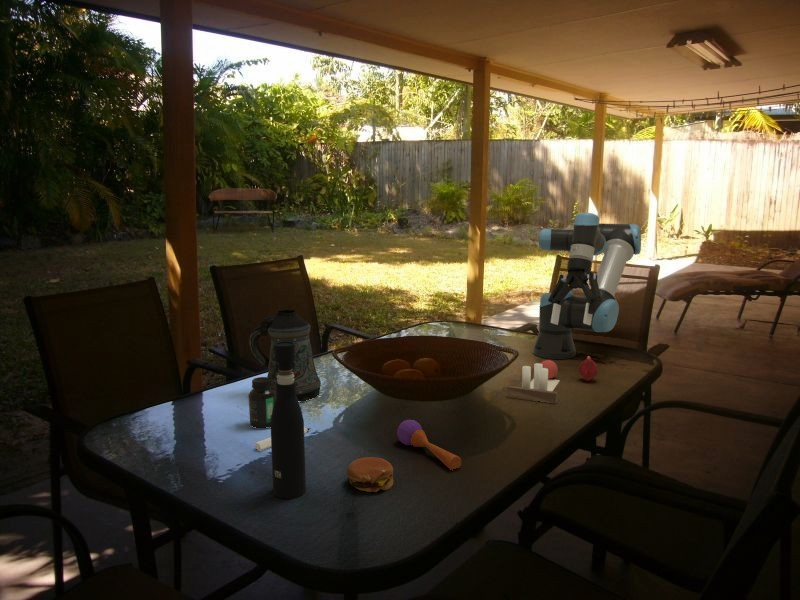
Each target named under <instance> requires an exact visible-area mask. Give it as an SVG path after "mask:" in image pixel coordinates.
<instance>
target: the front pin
mask: <svg viewBox="0 0 800 600" xmlns="http://www.w3.org/2000/svg"><path fill="white" fill-rule="evenodd" d="M533 365H534V366H533V368H534V369H533V378H534V388H533V389H538V390H539V374H540V368H543V364H541V362H540V363H534V364H533Z"/></svg>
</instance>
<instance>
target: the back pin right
mask: <svg viewBox="0 0 800 600" xmlns="http://www.w3.org/2000/svg"><path fill="white" fill-rule="evenodd" d="M521 368H522V371H521V373H522V374H521V387H522V388H530V382H531V380H532V379H531V377H532V376H531V372H532V367H531V366H530V365H523V366H522V367H521Z"/></svg>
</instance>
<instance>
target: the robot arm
mask: <svg viewBox="0 0 800 600" xmlns="http://www.w3.org/2000/svg"><path fill="white" fill-rule="evenodd" d="M574 219H575V220H574V223H573V228H544V229H542V230H541V231H540V232H539V235H538V246H539V248H540V250H541V251H542V250H543V251H555V252H556V251H557V252H559V251H560V252H569V255H568V258H569V259H568V261H567V266H566V270H567V273H566V275H564V274H560V275H559V276H558V280H557V282H556V284H555V286H554V288H553V290H552V292H546V293H543V294H542V295H541V297H540V300H539V306H538V307H539V314H538V315H539V319H538V320H539V321H538V334H537V336H536V337H537V338H536V340H535V342H534V345H533V350H532V351H533V355H535V356H536V357H539V358H543V359H548V360H567V359H572V358H573V359H574V358H575V357H576V352H577V351H576V346H575V343H574V339H573V334H572V332H573V331H572V330H582V331H589V332H595V333H608V332H610V331H612V330H613V329H614V327H615V325H616V324H617V320H618V316H619V312H620V311H619V310H620V306H619V303H618V301H617V299H616V297H615V294H616V293H617V289H618V286H619V283H620V281H621V278H622V275H623V273H624V271H625V270H624V269H625V268H626V264H627V262H629V261H630V260H632V258H633V257H634V255H640V254H641V250H642V232H641V227H640V226H639V225H638V224H636V223H635V224H632V223H605V222H604V223H600V217H599V215H597V214H595V213H592V212H579V213H577V215H576V216H575V218H574ZM601 254H603V257H602V259H601V262H600V264H599V266H598V269H597V272H596V273H594V272H592V267H593V262H592V261H593V260H594V256H599V255H601ZM588 282H589V283H588ZM575 289H576V290H577V289H581V290H582V292H583V295H582V296H575V294H574V291H573V290H575Z"/></svg>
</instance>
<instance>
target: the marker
mask: <svg viewBox="0 0 800 600" xmlns="http://www.w3.org/2000/svg"><path fill="white" fill-rule="evenodd" d="M310 430H311V427H310V428H309V427H304V435H305V434H306V433H307V432H308V431H310ZM270 447H271V436H270V437H268V438H264V439H262V440H259V441H257V442H255V445H254V448H256V449H258V450H259V451H258V450H257V451H258V452H262V451H261V450H263V451H265V450H268V449H270ZM267 448H268V449H267ZM256 449H255V450H256ZM264 449H265V450H264Z"/></svg>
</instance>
